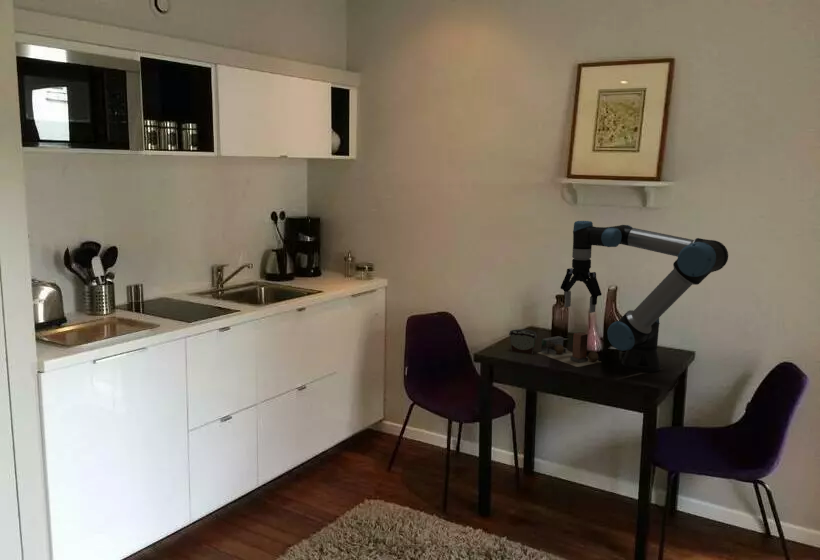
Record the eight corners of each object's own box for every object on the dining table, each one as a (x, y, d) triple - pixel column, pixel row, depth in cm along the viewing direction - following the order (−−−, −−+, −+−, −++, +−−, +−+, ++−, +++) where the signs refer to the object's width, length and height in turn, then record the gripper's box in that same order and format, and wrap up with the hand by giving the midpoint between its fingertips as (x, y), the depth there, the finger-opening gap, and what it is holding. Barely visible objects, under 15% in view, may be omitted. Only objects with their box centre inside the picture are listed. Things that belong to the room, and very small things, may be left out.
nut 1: (565, 354, 298) (566, 344, 298) (558, 355, 296) (559, 346, 295) (558, 351, 302) (559, 342, 301) (551, 353, 300) (552, 343, 299)
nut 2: (600, 361, 288) (600, 352, 287) (593, 363, 286) (593, 353, 285) (592, 359, 291) (593, 349, 291) (585, 360, 289) (586, 351, 288)
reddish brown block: (588, 361, 288) (589, 334, 286) (579, 363, 286) (580, 336, 284) (579, 358, 292) (580, 331, 290) (570, 359, 290) (571, 333, 288)
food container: (539, 353, 303) (540, 331, 301) (535, 356, 298) (536, 334, 296) (512, 349, 308) (513, 327, 307) (508, 353, 303) (509, 330, 301)
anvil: (569, 352, 301) (569, 339, 299) (552, 356, 295) (552, 342, 294) (557, 349, 306) (558, 335, 305) (541, 352, 301) (541, 338, 300)
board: (601, 364, 288) (601, 361, 288) (577, 369, 281) (577, 367, 280) (560, 350, 308) (560, 348, 308) (536, 354, 300) (536, 352, 300)
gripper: (612, 261, 275) (609, 313, 278) (565, 254, 295) (564, 303, 299) (599, 263, 271) (596, 315, 274) (553, 256, 291) (551, 305, 295)
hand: (579, 309), depth 287 cm, fingers open, 13 cm apart
